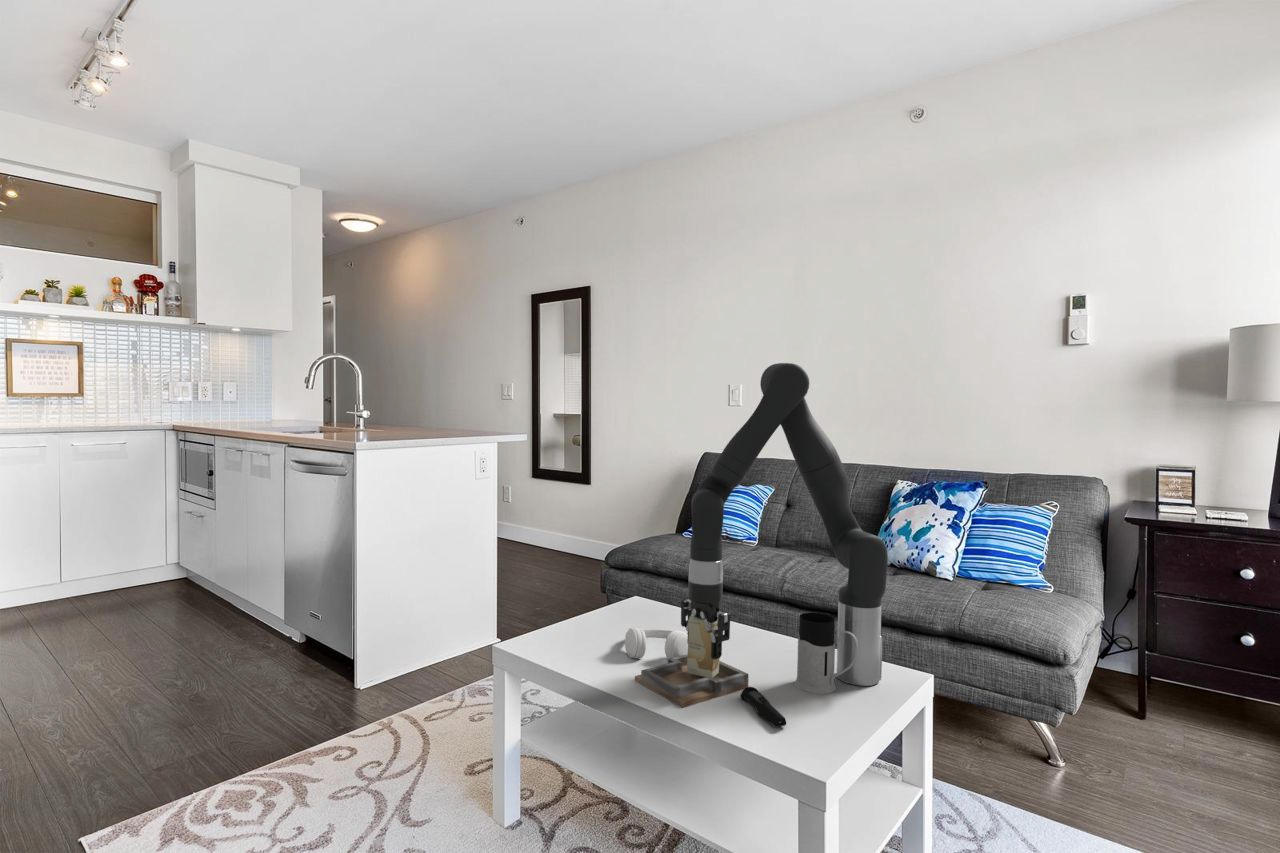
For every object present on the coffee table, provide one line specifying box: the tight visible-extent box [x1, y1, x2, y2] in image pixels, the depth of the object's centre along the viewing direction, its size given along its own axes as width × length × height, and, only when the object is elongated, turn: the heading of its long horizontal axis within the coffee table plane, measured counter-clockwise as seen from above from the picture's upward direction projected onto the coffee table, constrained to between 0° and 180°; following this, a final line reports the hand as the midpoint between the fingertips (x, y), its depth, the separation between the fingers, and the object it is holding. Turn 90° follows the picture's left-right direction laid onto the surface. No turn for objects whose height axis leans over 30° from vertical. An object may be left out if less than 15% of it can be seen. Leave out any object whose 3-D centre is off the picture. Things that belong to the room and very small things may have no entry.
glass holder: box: [794, 612, 858, 695], centre depth 145 cm, size 9×14×15 cm, turn 42°
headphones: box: [624, 626, 688, 660], centre depth 167 cm, size 7×18×20 cm
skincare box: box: [687, 617, 720, 678], centre depth 148 cm, size 6×4×12 cm
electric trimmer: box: [740, 686, 787, 728], centre depth 132 cm, size 4×16×3 cm, turn 15°
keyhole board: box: [634, 654, 749, 708], centre depth 146 cm, size 18×16×3 cm
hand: (703, 652), depth 148 cm, fingers closed on skincare box, 7 cm apart
